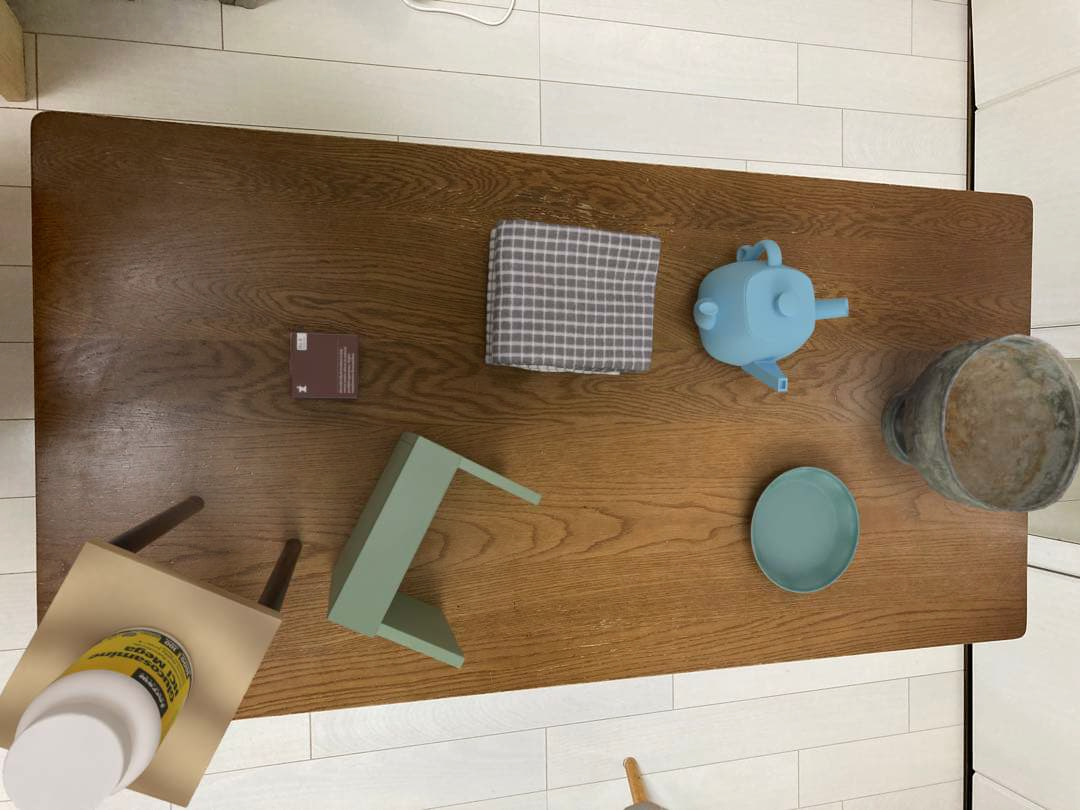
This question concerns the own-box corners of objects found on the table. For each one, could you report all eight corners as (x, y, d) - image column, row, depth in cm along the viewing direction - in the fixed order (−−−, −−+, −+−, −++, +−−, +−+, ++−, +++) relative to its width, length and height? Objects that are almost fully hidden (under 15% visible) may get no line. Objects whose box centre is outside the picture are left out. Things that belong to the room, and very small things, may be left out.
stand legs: (248, 651, 69) (190, 791, 43) (130, 605, 66) (-7, 726, 41) (305, 541, 71) (280, 615, 45) (191, 492, 68) (96, 541, 42)
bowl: (982, 357, 93) (1099, 347, 78) (968, 505, 92) (1084, 522, 77) (855, 334, 88) (955, 318, 73) (839, 490, 87) (937, 505, 72)
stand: (191, 795, 43) (186, 808, 42) (-12, 728, 41) (-26, 739, 39) (284, 613, 45) (282, 620, 44) (94, 536, 42) (85, 541, 41)
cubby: (438, 618, 74) (463, 675, 58) (331, 573, 71) (326, 619, 55) (505, 479, 76) (547, 497, 60) (403, 430, 73) (419, 435, 57)
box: (357, 401, 72) (358, 400, 65) (294, 400, 70) (288, 398, 63) (358, 341, 72) (359, 333, 65) (296, 339, 70) (290, 331, 63)
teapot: (729, 407, 83) (787, 405, 72) (652, 321, 81) (700, 307, 70) (808, 318, 86) (876, 303, 75) (736, 233, 84) (795, 205, 73)
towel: (484, 229, 76) (499, 208, 68) (643, 243, 80) (674, 225, 73) (481, 371, 75) (496, 366, 68) (641, 377, 80) (672, 373, 73)
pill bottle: (217, 654, 43) (172, 735, 32) (155, 748, 42) (88, 864, 31) (119, 604, 41) (39, 671, 31) (53, 700, 40) (-53, 804, 30)
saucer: (752, 603, 84) (765, 609, 81) (727, 482, 83) (739, 484, 80) (855, 568, 87) (871, 573, 85) (832, 452, 87) (847, 453, 84)
